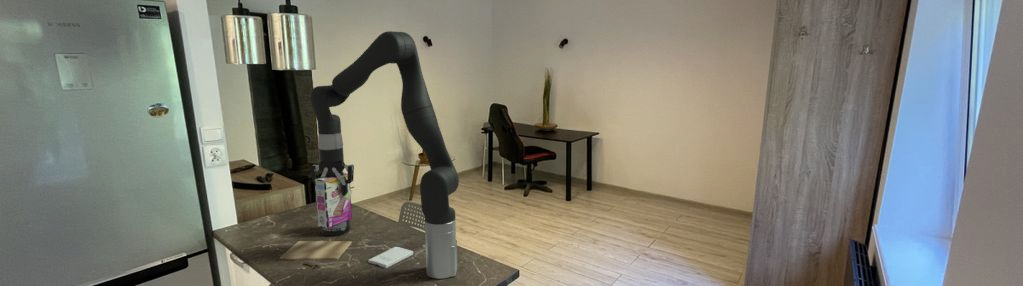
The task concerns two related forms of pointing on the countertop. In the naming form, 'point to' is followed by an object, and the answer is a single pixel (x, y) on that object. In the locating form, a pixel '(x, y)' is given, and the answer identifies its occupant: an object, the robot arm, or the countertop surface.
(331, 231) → the supplement container
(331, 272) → the countertop surface
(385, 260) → the external hard drive
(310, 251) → the cork mat
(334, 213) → the candy bar box
